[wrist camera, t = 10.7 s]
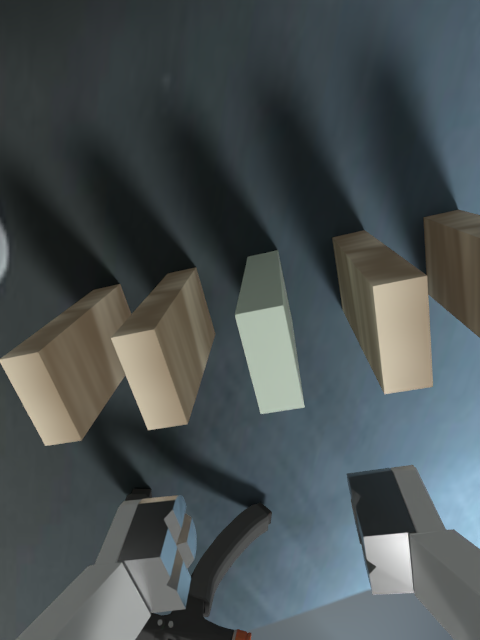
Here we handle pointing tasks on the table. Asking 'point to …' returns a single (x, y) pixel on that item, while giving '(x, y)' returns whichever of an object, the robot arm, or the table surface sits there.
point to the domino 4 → (386, 310)
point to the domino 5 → (454, 264)
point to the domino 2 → (167, 349)
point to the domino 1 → (70, 366)
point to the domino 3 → (269, 334)
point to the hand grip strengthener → (207, 580)
